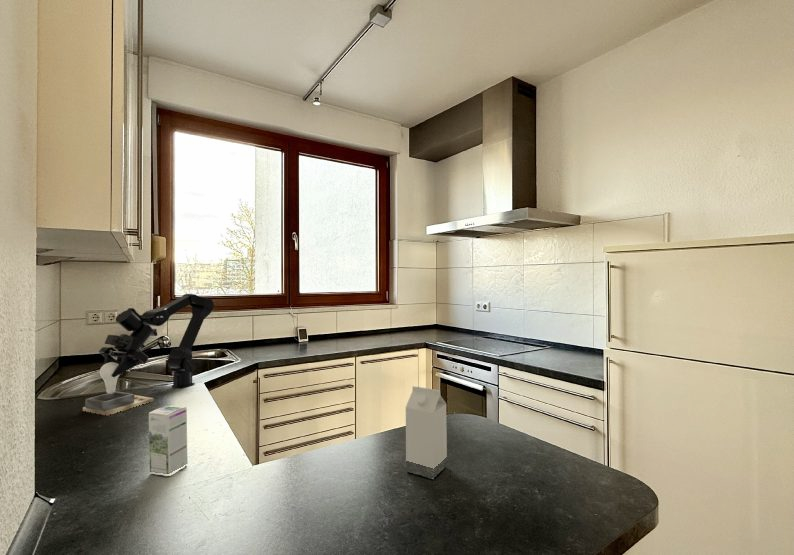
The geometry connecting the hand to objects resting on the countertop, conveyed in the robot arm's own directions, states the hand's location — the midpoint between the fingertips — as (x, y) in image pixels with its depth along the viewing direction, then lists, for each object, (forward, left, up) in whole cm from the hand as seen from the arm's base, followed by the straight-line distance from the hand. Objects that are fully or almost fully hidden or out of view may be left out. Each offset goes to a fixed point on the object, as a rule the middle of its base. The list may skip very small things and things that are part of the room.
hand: (106, 376), depth 134 cm
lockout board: (-4, 0, -12) cm, 12 cm away
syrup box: (+22, +60, -12) cm, 65 cm away
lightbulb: (-1, 0, -7) cm, 7 cm away
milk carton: (-1, +116, -12) cm, 117 cm away
